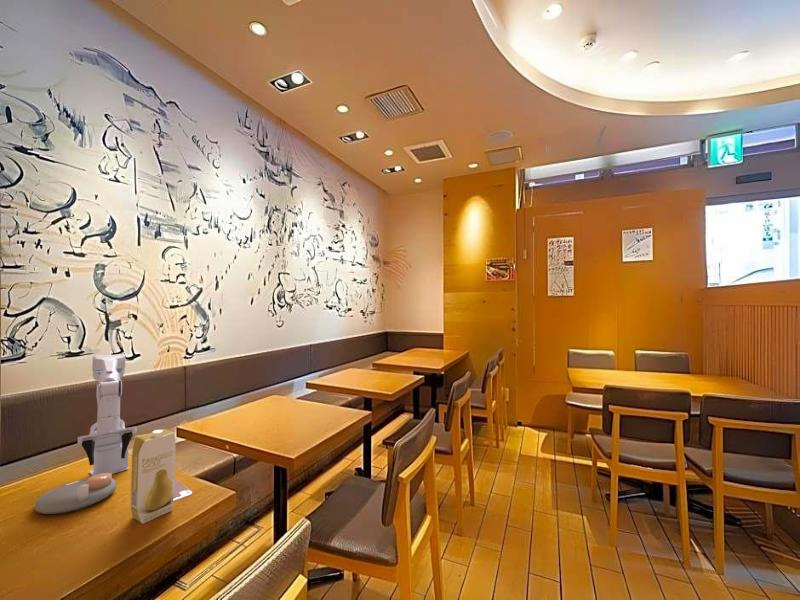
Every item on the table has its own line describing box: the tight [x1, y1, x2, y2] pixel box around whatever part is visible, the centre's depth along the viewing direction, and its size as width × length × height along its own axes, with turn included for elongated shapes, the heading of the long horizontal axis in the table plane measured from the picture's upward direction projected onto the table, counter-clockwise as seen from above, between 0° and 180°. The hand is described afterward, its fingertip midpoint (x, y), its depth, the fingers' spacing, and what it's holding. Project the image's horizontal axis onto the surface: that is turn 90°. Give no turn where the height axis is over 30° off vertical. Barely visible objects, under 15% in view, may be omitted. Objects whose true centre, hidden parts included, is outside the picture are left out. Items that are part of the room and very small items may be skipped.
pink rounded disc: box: [86, 473, 113, 490], centre depth 109 cm, size 6×6×2 cm
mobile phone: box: [173, 478, 193, 503], centre depth 111 cm, size 8×1×15 cm
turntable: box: [34, 478, 117, 515], centre depth 105 cm, size 18×18×5 cm
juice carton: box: [130, 428, 176, 525], centre depth 99 cm, size 9×8×24 cm
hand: (107, 461), depth 109 cm, fingers open, 7 cm apart
